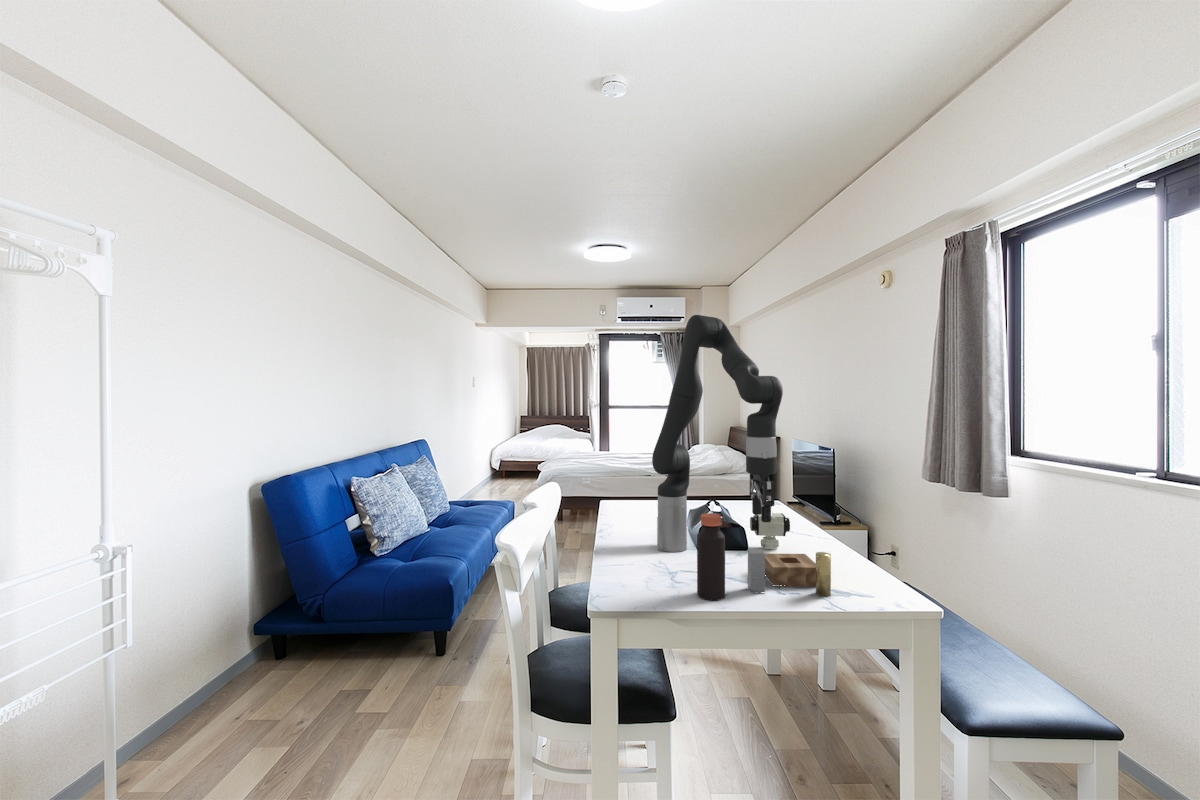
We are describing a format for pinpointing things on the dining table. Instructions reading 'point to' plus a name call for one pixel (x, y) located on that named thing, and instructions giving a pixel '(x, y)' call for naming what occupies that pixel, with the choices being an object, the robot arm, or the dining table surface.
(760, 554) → the square bit
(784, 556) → the socket block
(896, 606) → the dining table surface
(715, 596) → the bottle
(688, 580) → the dining table surface
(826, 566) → the cylinder
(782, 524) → the pneumatic valve
